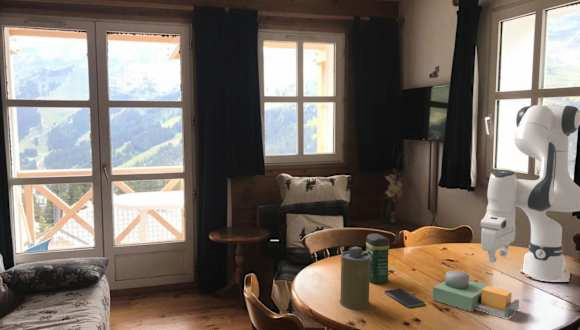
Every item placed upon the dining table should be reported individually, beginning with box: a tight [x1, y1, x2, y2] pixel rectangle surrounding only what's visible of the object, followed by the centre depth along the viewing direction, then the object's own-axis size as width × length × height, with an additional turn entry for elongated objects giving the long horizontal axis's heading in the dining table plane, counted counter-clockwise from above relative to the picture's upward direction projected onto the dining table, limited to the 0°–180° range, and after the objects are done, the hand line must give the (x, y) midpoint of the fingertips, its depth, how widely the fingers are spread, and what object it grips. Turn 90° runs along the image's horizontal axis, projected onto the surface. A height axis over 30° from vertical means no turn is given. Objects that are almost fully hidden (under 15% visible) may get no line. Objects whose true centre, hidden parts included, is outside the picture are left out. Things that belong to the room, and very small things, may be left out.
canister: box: [339, 245, 371, 310], centre depth 161 cm, size 11×10×20 cm
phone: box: [383, 288, 426, 309], centre depth 166 cm, size 8×1×15 cm
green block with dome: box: [432, 270, 492, 312], centre depth 165 cm, size 16×14×9 cm
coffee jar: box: [365, 233, 390, 284], centre depth 184 cm, size 10×8×19 cm
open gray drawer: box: [475, 298, 520, 320], centre depth 156 cm, size 10×11×4 cm
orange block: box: [481, 285, 512, 311], centre depth 156 cm, size 5×8×6 cm, turn 45°
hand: (498, 258), depth 155 cm, fingers open, 8 cm apart
